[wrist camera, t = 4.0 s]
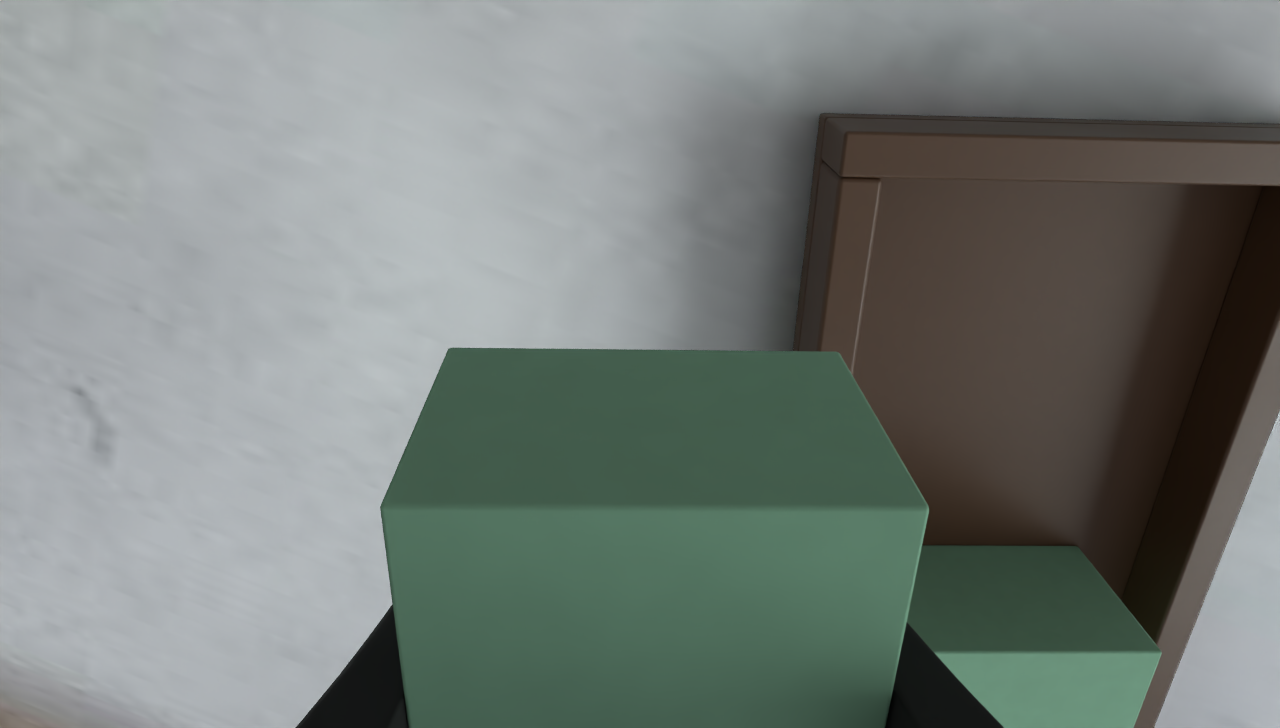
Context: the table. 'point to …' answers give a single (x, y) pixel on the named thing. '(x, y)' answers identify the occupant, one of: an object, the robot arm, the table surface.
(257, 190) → the table surface
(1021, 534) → the shallow wooden tray
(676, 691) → the green rectangular block
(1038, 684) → the green block
